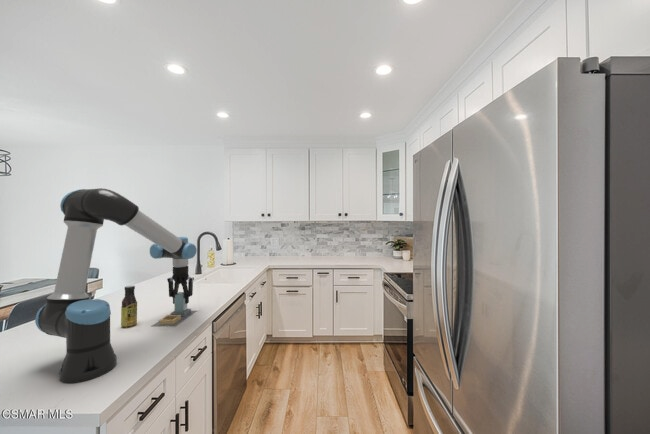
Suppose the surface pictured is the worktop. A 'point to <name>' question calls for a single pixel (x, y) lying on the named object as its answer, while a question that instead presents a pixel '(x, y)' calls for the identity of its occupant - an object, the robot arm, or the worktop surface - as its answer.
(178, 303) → the plug
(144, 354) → the worktop surface
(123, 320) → the sauce bottle
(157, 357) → the worktop surface
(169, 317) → the socket board
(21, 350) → the worktop surface
